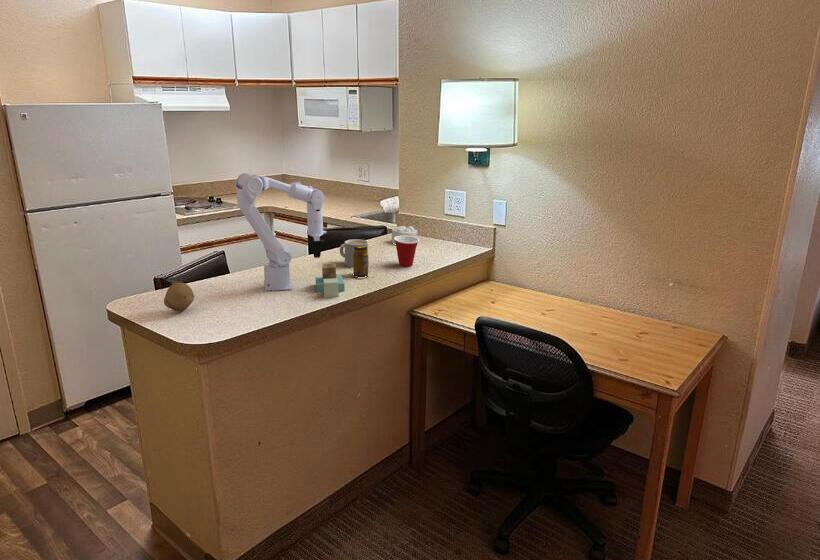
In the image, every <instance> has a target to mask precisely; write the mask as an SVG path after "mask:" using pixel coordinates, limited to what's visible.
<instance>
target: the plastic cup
mask: <svg viewBox="0 0 820 560" xmlns="http://www.w3.org/2000/svg"><path fill="white" fill-rule="evenodd" d="M394 240H395V243H396V245H395V246H396V247H395V248H396V254H397V259H398V264H399V266H400V267H402V266H403V268H409V267H412V266H414V265H413V264H414V260H415V255H416V250H417V249H416V248H417V246H418V243H419V242H420V239H419V237H417V238H416V237H412V236H396V237H394Z"/></svg>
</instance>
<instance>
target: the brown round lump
mask: <svg viewBox="0 0 820 560" xmlns="http://www.w3.org/2000/svg"><path fill="white" fill-rule="evenodd" d="M194 299H195V295H194V291H193V289H192V288H191V286H190V285H188V284H187V283H185V282H174V283H172V284H171V285H170V286H169V287H168V288H167V291H166V292H165V296H164V297H163V303H164V306H165V307H167V308H168V309H171V310H173V311H175V312H178V311H182V312H184V311H185V310H187V309H188V308H189V307H190V306H191V304H192V303H193V302H194Z"/></svg>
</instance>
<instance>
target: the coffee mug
mask: <svg viewBox="0 0 820 560" xmlns="http://www.w3.org/2000/svg"><path fill="white" fill-rule="evenodd" d="M357 245H364V246H367V252H368V253H369V241H368V240H366V239H357V238H356V239H354V238H353V239H348V240H345V241H344V243H342V244H341V245H340V246H339V253H340V256H341V257H342V258H344V266H345V267H347V268H351V267H352V268H353V254H354V247H355V246H357Z"/></svg>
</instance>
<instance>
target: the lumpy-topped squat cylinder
mask: <svg viewBox="0 0 820 560" xmlns="http://www.w3.org/2000/svg"><path fill="white" fill-rule="evenodd" d="M396 236H412V237H416V238H418V230H417V229H415V228H414V226H412V225H410V226H409V225H408V226H407V227H406V226H405V225H400V226H396V227H394V228H392V229H391V244H392V243H394V244H396V243H395V240H394V237H396Z"/></svg>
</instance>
